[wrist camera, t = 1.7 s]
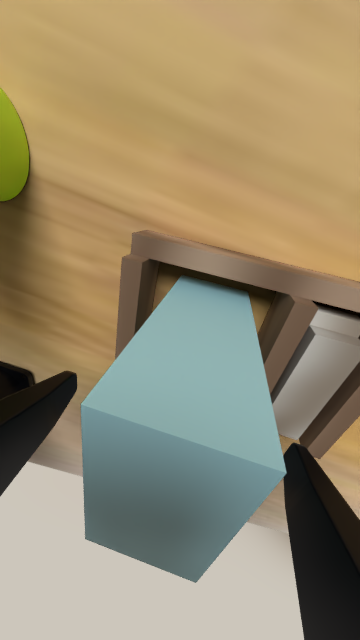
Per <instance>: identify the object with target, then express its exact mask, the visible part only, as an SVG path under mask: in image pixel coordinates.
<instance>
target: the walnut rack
mask: <svg viewBox="0 0 360 640" xmlns="http://www.w3.org/2000/svg"><path fill="white" fill-rule="evenodd" d="M159 261H161V262H165V263H169V264H173V265H177V266H180V267H184V268H188V269H192V270H196V271H200V272H204V273H208V274H212V275H215V276H219V277H223V278H227V279H231V280H235V281H239V282H243V283H247V284H251V285H254V286H258V287H262V288H266V289H270V290H274V291H277V293H276V295H275V297H274V300H273V302H272V304H271V306H270V309H269V311H268V313H267V315H266V318H265V320H264V322H263V324H262V327H261V329H260V331H259V333H258V341H259V346H260V350H261V355H262V360H263V364H264V369H265V374H266V379H267V383H268V388H269V393H270V394H271V392H272V390H273V388H274V387H275V385H276V383H277V381H278V380H279V378H280V376H281V374H282V372H283V371H284V369H285V367H286V365H287V364H288V362H289V360H290V358H291V357H292V355H293V353H294V351H295V350H296V348H297V346H298V344H299V343H300V341H301V339H302V337H303V336H304V334H305V332H306V330H307V328H308V327H309V325H310V323H311V321H312V320H313V318H314V316H315V314H316V313H317V311H318V309H319V308H318V307H317V306H316V305H315V304H314V303H313V301H317V302H321V303H324V304H328V305H332V306H336V307H340V308H344V309H348V310H352V311H356V312H359V314H358V317H360V282H358V281H354V280H349V279H345V278H341V277H337V276H333V275H329V274H325V273H321V272H317V271H313V270H309V269H304V268H300V267H296V266H292V265H288V264H284V263H280V262H276V261H272V260H268V259H264V258H259V257H255V256H251V255H247V254H243V253H239V252H235V251H231V250H227V249H223V248H219V247H214V246H210V245H206V244H202V243H198V242H194V241H190V240H186V239H182V238H178V237H173V236H169V235H165V234H161V233H157V232H153V231H149V230H144V231H139V232H135V233H132V245H131V254H129V255H127V256H124V257H122V265H121V280H120V295H119V310H118V324H117V339H116V354H115V360H116V359H117V357H118V356H119V355H120V354H121V352H122V351H123V350H124V348H125V347H126V346H127V345H128V343H129V342H130V341H131V340H132V338H133V337H134V336H135V334H136V333H137V332H138V331H139V329H140V328H141V327H142V325H143V324H144V323H145V322H146V320H147V319H148V318H149V317H150V315H151V313H152V307H153V300H154V294H155V287H156V280H157V274H158V267H159ZM312 300H313V301H312ZM358 339H359V340H360V336H359V337H358ZM359 416H360V362H359V363H358V364H357V365H356V367H355V368H354V369H353V370H352V372H351V373H350V374H349V375H348V377H347V378H346V379H345V381H344V382H343V383H342V384H341V386H340V387H339V388H338V389H337V391H336V392H335V393H334V394H333V396H332V397H331V398H330V400H329V401H328V402H327V403H326V405H325V406H324V407H323V408H322V410H321V411H320V412H319V413H318V415H317V416H316V417H315V419H314V420H313V421H312V422H311V424H310V425H309V426H308V427H307V429H306V430H305V431H304V432H303V434H302V435H301V436H300V437H299V441H300V444H301V445H303V446H305V447H306V448H307V449H308V451H309V452H310V453H311V455H312V456H313V457H315V458H318V459H320V458H321V457H322V456H323V455H324V454H325V453H326V452H327V451H328V450H329V449H330V448H331V446H332V445H333V444H334V443H335V442H336V441H337V440H338V439H339V438H340V437H341V436H342V434H343V433H344V432H345V431H346V430H347V429H348V428H349V427H350V426H351V425H352V424H353V422H354V421H355V420H356V419H357V418H358V417H359Z"/></svg>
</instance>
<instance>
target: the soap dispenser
mask: <svg viewBox="0 0 360 640" xmlns="http://www.w3.org/2000/svg"><path fill="white" fill-rule="evenodd" d="M28 171H29V150H28V144H27V139H26V135H25V132H24V128H23V126H22V123H21V120H20V118H19V116H18V114H17V112H16V110H15V108H14V106H13V104H12V103H11V101H10V100H9V98H8V97H7V95H6V94H5V93H4V91H3V90H2V89H1V88H0V201H7V200H10V199H12V198H14V197H15V196H17V195H18V194H19V193H20V191H21V190H22V189H23V187H24V185H25V183H26V180H27V176H28Z"/></svg>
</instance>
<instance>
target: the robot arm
mask: <svg viewBox="0 0 360 640" xmlns="http://www.w3.org/2000/svg"><path fill="white" fill-rule="evenodd" d="M76 390H77V375H76V373H74V372H71V371H64V372H62V373H59V374H57V375H55V376H53V377H50V378H48V379H46V380H44V381H41V382H39V383H37V384H35V385H33V380H32V375H31V373H30V372H28V371H27V370H24V369H21V368H18V367H14V366H11V365H8V364H5V363H2V362H0V496H1V495H2V493H3V492H4V491H5V489H6V488H7V487H8V486H9V484H10V483H11V482H12V480H13V479H14V478H15V477H16V475H17V474H18V473H19V471H20V470H21V469H22V467H23V466H24V465H25V464H26V462H27V461H28V460H29V458H30V457H31V456H32V455H33V453H34V452H35V451H36V449H37V448H38V447H39V445H40V444H41V443H42V442H43V440H44V439H45V438H46V436H47V435H48V434H49V432H50V431H51V430H52V428H53V427H54V426H55V424H56V423H57V421H58V419H59V418H60V416H61V415H62V413H63V412H64V410H65V408H66V407H67V405H68V404H69V402H70V400H71V399H72V397H73V396H74V394H75V392H76ZM283 458H284V463H285V468H286V472H287V473H286V474H285V476H284V497H285V509H286V516H287V523H288V530H289V537H290V544H291V551H292V558H293V565H294V571H295V578H296V585H297V592H298V599H299V606H300V613H301V620H302V627H303V633H304V640H360V520H359V518H358V517H357V516H356V514H355V513H354V512H353V510H352V509H351V508H350V506H349V505H348V504H347V502H346V501H345V499H344V498H343V497H342V495H341V494H340V493H339V491H338V490H337V489H336V487H335V486H334V485H333V483H332V482H331V480H330V479H329V478H328V476H327V475H326V474H325V472H324V471H323V470H322V468H321V467H320V466H319V464H318V463H317V461H316V460H315V459H314V457H313V456H312V455H311V453H310V452H309V451H308V449H307V448H306V447H305V446H303V445H300V444H297V443H292V444H291V445H290V447H289V448H288V449H287V451H286V452H285V453H284V456H283Z"/></svg>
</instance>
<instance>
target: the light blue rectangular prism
mask: <svg viewBox="0 0 360 640" xmlns="http://www.w3.org/2000/svg"><path fill="white" fill-rule="evenodd" d="M81 427H82V456H83V483H84V513H85V539H87V540H89V541H92V542H95V543H97V544H99V545H102V546H104V547H107V548H109V549H112V550H114V551H117V552H119V553H122V554H124V555H127V556H129V557H132V558H135V559H137V560H140V561H142V562H145V563H147V564H150V565H152V566H155V567H157V568H160V569H162V570H165V571H167V572H170V573H172V574H175V575H178V576H180V577H182V578H185V579H188V580H190V581H193V582H195V583H196V582H197V581H198V580H199V578H200V577H201V576H202V575H203V573H204V572H205V571H206V570H207V569H208V568H209V566H210V565H211V564H212V563H213V562H214V560H215V559H216V558H217V557H218V556H219V554H220V553H221V552H222V551H223V549H224V548H225V547H226V546H227V545H228V543H229V542H230V541H231V540H232V539H233V537H234V536H235V535H236V534H237V533H238V531H239V530H240V529H241V528H242V527H243V525H244V524H245V523H246V522H247V520H248V519H249V518H250V517H251V516H252V514H253V513H254V512H255V511H256V510H257V508H258V507H259V506H260V505H261V504H262V502H263V501H264V500H265V499H266V497H267V496H268V495H269V494H270V493H271V491H272V490H273V489H274V488H275V487H276V485H277V484H278V483H279V482H280V481H281V479H282V478H283V477H284V476H285V474H286V473H287V472H286V468H285V463H284V458H283V454H282V449H281V444H280V440H279V435H278V430H277V426H276V421H275V416H274V411H273V407H272V402H271V397H270V393H269V388H268V383H267V379H266V374H265V369H264V364H263V360H262V355H261V350H260V346H259V341H258V336H257V332H256V327H255V322H254V317H253V313H252V308H251V303H250V299H249V294H248V292H247V291H243V290H239V289H235V288H231V287H228V286H224V285H220V284H216V283H212V282H208V281H205V280H201V279H197V278H193V277H189V276H185V275H182V276H181V277H180V278H179V279H178V281H177V282H176V283H175V285H174V286H173V287H172V288H171V290H170V291H169V292H168V294H167V295H166V296H165V297H164V299H163V300H162V301H161V302H160V304H159V305H158V306H157V308H156V309H155V310H154V311H153V313H152V314H151V315H150V317H149V318H148V319H147V320H146V322H145V323H144V324H143V325H142V327H141V328H140V329H139V331H138V332H137V333H136V334H135V336H134V337H133V338H132V340H131V341H130V342H129V343H128V345H127V346H126V347H125V348H124V350H123V351H122V352H121V354H120V355H119V356H118V357H117V359H116V360H115V361H114V363H113V364H112V365H111V366H110V368H109V369H108V370H107V371H106V373H105V374H104V375H103V377H102V378H101V379H100V380H99V382H98V383H97V384H96V386H95V387H94V388H93V389H92V391H91V392H90V393H89V394H88V396H87V397H86V398H85V400H84V401H83V402H82V403H81Z"/></svg>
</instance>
